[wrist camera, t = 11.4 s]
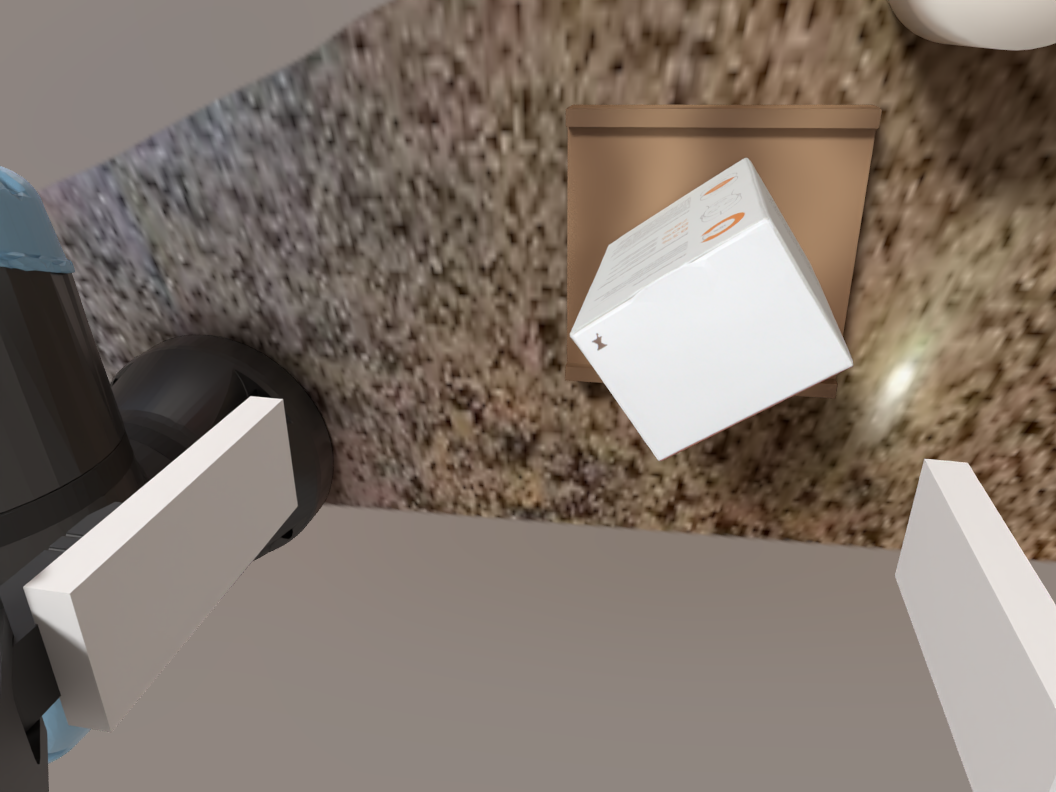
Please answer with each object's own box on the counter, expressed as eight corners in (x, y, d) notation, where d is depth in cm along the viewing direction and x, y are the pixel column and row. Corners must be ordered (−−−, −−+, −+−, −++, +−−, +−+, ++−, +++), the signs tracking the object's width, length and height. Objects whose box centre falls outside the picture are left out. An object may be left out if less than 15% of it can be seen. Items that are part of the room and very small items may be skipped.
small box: (671, 344, 42) (655, 467, 30) (605, 244, 40) (562, 333, 29) (815, 264, 39) (859, 367, 27) (749, 152, 37) (766, 211, 26)
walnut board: (571, 365, 45) (565, 380, 43) (572, 104, 39) (565, 108, 37) (829, 381, 43) (835, 398, 41) (873, 104, 37) (881, 109, 35)
